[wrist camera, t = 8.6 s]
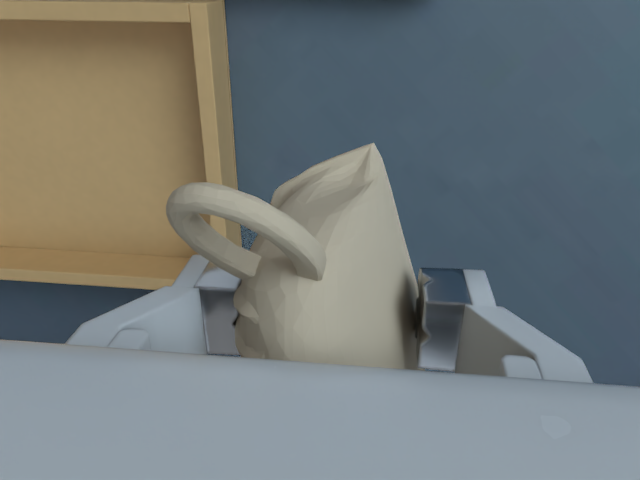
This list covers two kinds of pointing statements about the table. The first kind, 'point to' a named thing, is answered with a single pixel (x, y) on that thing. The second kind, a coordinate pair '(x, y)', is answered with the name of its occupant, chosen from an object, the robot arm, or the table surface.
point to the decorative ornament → (313, 264)
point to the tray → (109, 136)
